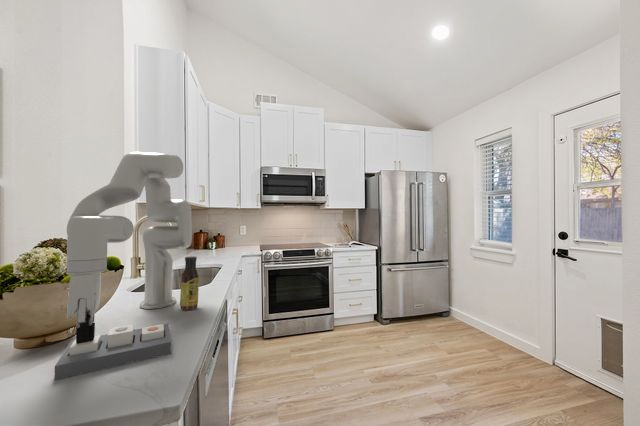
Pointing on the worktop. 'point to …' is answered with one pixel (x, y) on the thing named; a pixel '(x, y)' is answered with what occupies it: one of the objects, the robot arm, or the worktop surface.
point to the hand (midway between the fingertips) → (85, 341)
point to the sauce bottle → (189, 285)
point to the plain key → (120, 336)
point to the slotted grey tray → (112, 354)
